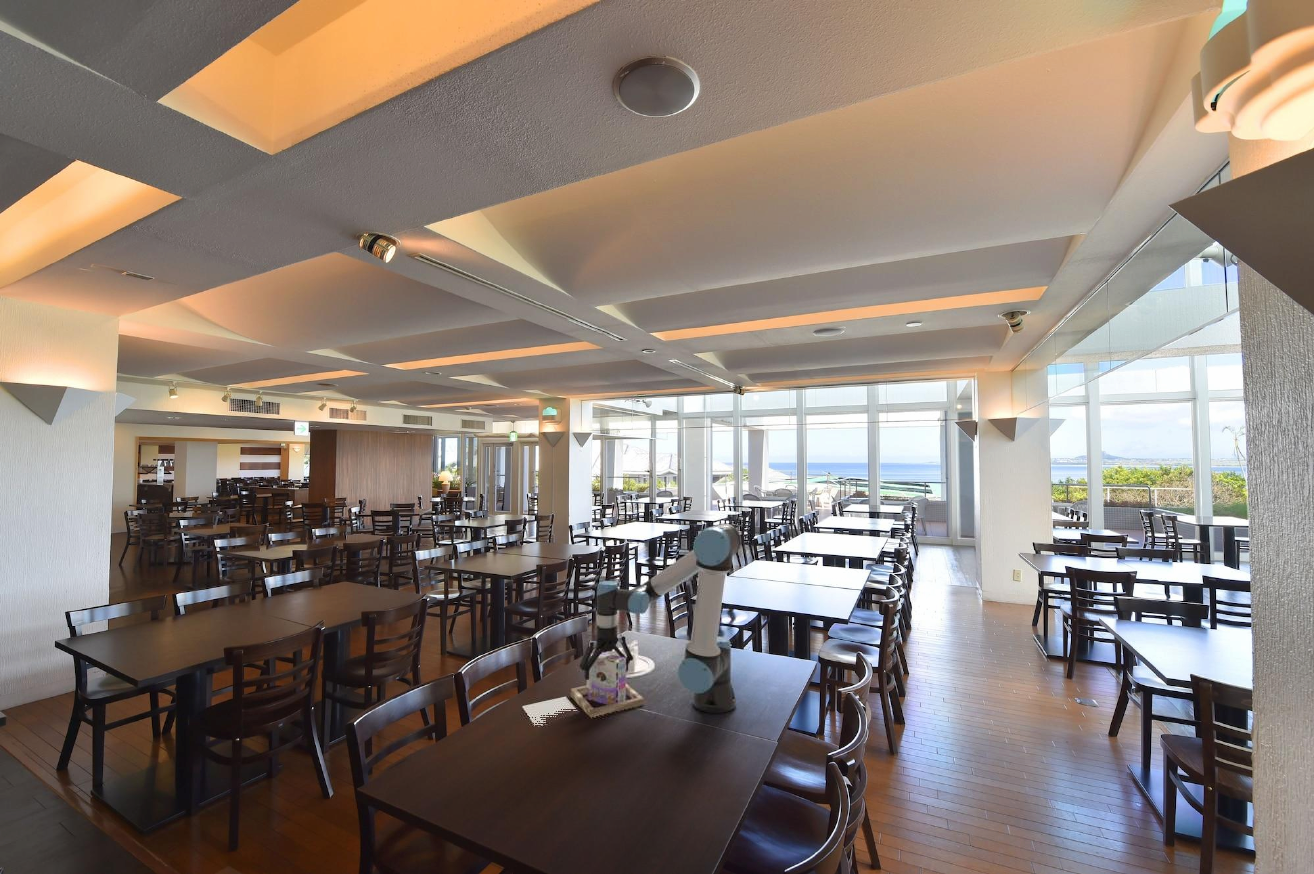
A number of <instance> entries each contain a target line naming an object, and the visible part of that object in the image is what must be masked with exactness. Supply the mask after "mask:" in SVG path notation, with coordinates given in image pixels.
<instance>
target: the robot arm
mask: <svg viewBox="0 0 1314 874" xmlns="http://www.w3.org/2000/svg"><path fill="white" fill-rule="evenodd" d="M693 541H694V542H693V549H692V550H690V551H689V552H688V553H687V554H685V555H684V556H682V557H680V558H679V559H678V560H676V561H675V562H673V563H672V564H670V565H668V567H666V568H665V569H663V570H661V571H660V572H659V573H658V574H656V575H654V576H653V577H651V578H650V579H649V580H647V581H645V582H644V583H642V584H641V585H638V586H636V587H633V588H632V589H622V588H619V584H618V582H616V581H614V580H613V581H612V580H604V581H601V582H599V583H598V584H597V587H596V625H597V626H596V639H595V640H591V639H590V640H588V641H587V647H586V650H585V652H584V655H583V656H582V659H581V661H580V663H579V668H580V669H581V671H584V672H583V673H584V679H585V680H586V685H587V688H588V689H589V690H591V688H592V671H591V670H590V668H591V667H592V666H593V664H594V663H595V661H596V660H597V658H598V657H599V655H601V654H602V652H603V653H604V652H607V651H612V650H613V649H614V650H615V652H616V653H617V654H618V655H619V656H620V657H625V656H624V654H623V653H622V652H621V651H620V650H619V649H618V648H619V647H618V646H617V644H618V643H620V645H621V648H622V647H623V649H624V651H625V653H626V655H627V657H625V658H626V672H627V671H628V664H629V663H630V661H632V660H633V657H632V655H631V652H630V650H629V648H628V646H627V645H628V644H627V641H626V636H624V635H623V634H619V636H618V611H619V612H625V613H630V614H634V615H636V614H637V615H638V614H645V613H646V612H647V610H648V609H649V607H650V604H652V603H654V602H657V600H659V599H660V598H661V597H662V596H664V595H665V594H667V593H669V592H670V591H671V590H673V589H675V588H676V587H678V586H679V585H681V584H682V583H683V582H685V581H687V580H689V579H690V578H691V577H693V576H695V575H696V574H697V573H699V574H698V579H697V581H698V583H697V588H696V595H695V596H696V598H695V599H696V600H695V606H694V613H693V622H692V631H691V638H690V640H689V641H688V642H686V645H685V649H684V657H683V658H684V659H683V660H681V662H680V664H679V665H678V668H677V669H678V670H677V671H678V672H677V674H678V679H679V681H680V683H681V685H683V687H684V688H685V689H686V690H687V691H689V692H691V693H693V694H692V704H693V706H694V708H696V709H698V710H699V711H702V712H705V713H708V714H724V713H729V712H731V711H733V710H734V709H735V708H736V705H737V703H736V701H737V700H736V695H735V692H734V688H733V685H732V678H731V677H732V675H731V674H732V672H731V670H732V667H731V663H732V662H731V661H732V657H731V656H732V655H731V652H732V648H731V641H730V640H729V639H728V638H726V637H723V636H718V635H719V628H720V627H719V626H720V619H721V613H722V612H721V611H722V605H723V604H722V603H723V596H724V589H725V580H726V575H727V574H728V573H729V572H731V569H732V563H733V562H732V560H733V556H735V555H736V554H737V553H738V552H739V550H740V549H741V546H742V538H741V534H740V532H739V531H738V529H737V528H736V527H735V526H733V525H732V524H728V523H719V524H716V525H713V526H709V527H706V528H704V529H703V530H701V531H700V532H698V533H697V535H696V537H695V539H694V540H693ZM594 648H595V649H594ZM593 650H594V651H593ZM592 653H593V654H592ZM591 654H592V656H591ZM590 656H591V657H590ZM589 658H590V659H589ZM728 711H729V712H728Z"/></svg>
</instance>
